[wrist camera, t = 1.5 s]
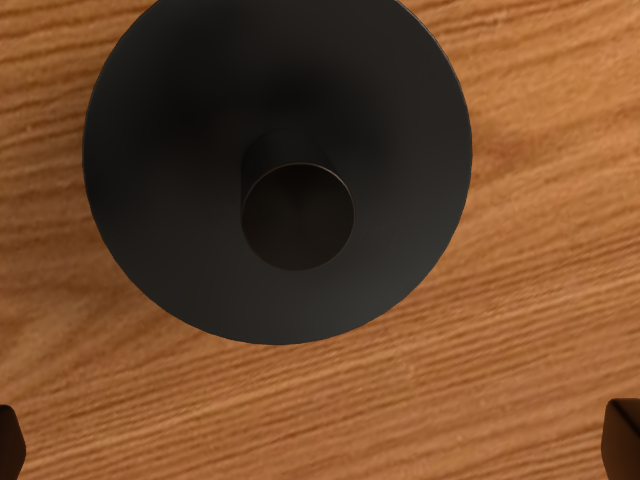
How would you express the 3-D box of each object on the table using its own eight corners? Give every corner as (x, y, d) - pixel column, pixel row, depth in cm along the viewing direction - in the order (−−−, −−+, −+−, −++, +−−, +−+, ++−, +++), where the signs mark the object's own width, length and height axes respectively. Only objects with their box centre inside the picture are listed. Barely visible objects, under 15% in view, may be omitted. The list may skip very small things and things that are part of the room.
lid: (101, 328, 18) (49, 439, 13) (79, -54, 15) (-3, -97, 10) (435, 329, 20) (500, 429, 15) (485, -19, 16) (592, -41, 11)
